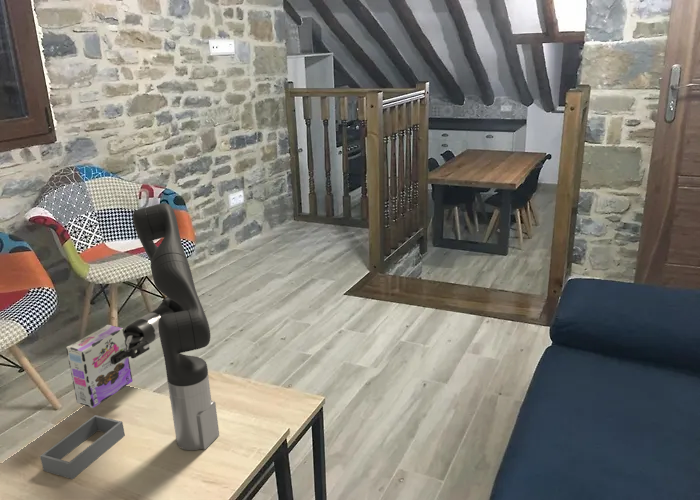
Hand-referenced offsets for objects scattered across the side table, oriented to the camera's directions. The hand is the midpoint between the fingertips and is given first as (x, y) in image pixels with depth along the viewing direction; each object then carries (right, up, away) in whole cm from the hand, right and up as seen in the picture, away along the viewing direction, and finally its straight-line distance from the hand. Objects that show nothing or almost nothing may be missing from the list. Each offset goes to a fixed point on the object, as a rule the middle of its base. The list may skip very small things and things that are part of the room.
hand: (102, 359), depth 154 cm
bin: (+2, -20, -13) cm, 24 cm away
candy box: (0, -9, +3) cm, 10 cm away
